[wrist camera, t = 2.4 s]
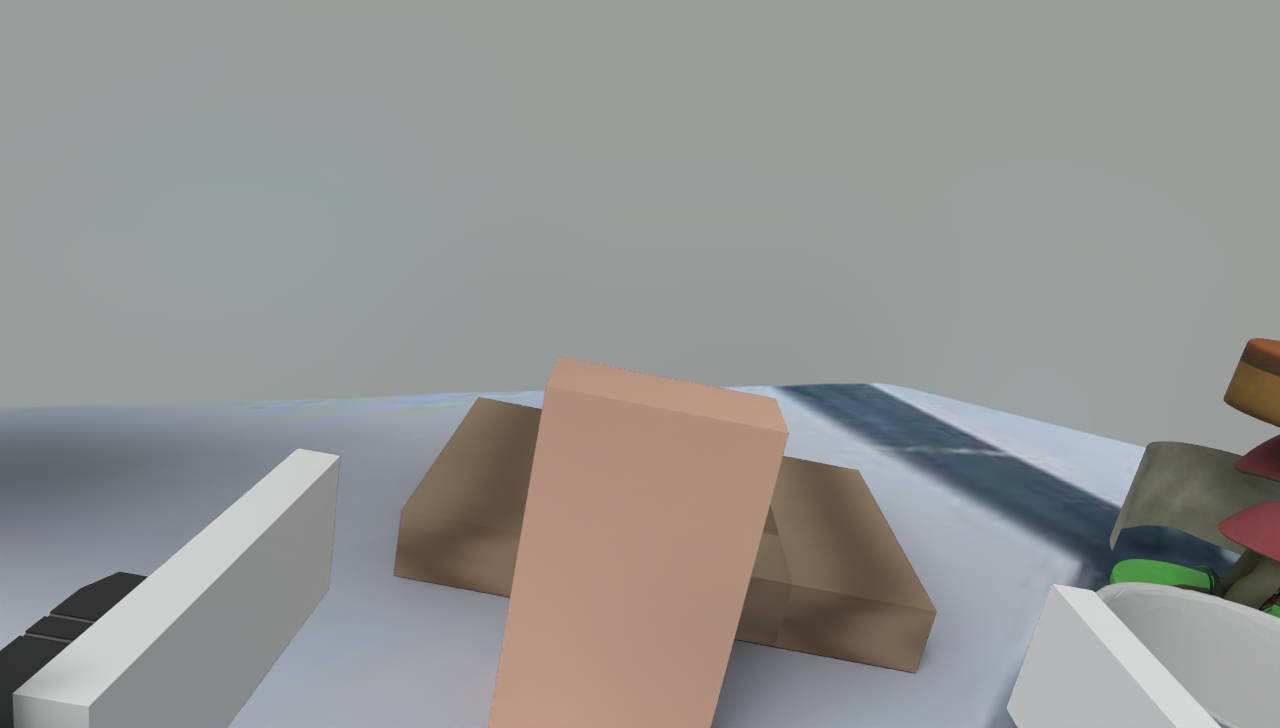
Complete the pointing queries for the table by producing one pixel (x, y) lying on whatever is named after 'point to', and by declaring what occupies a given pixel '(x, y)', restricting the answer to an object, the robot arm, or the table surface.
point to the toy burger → (1217, 497)
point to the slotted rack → (782, 573)
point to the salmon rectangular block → (634, 549)
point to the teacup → (1207, 648)
